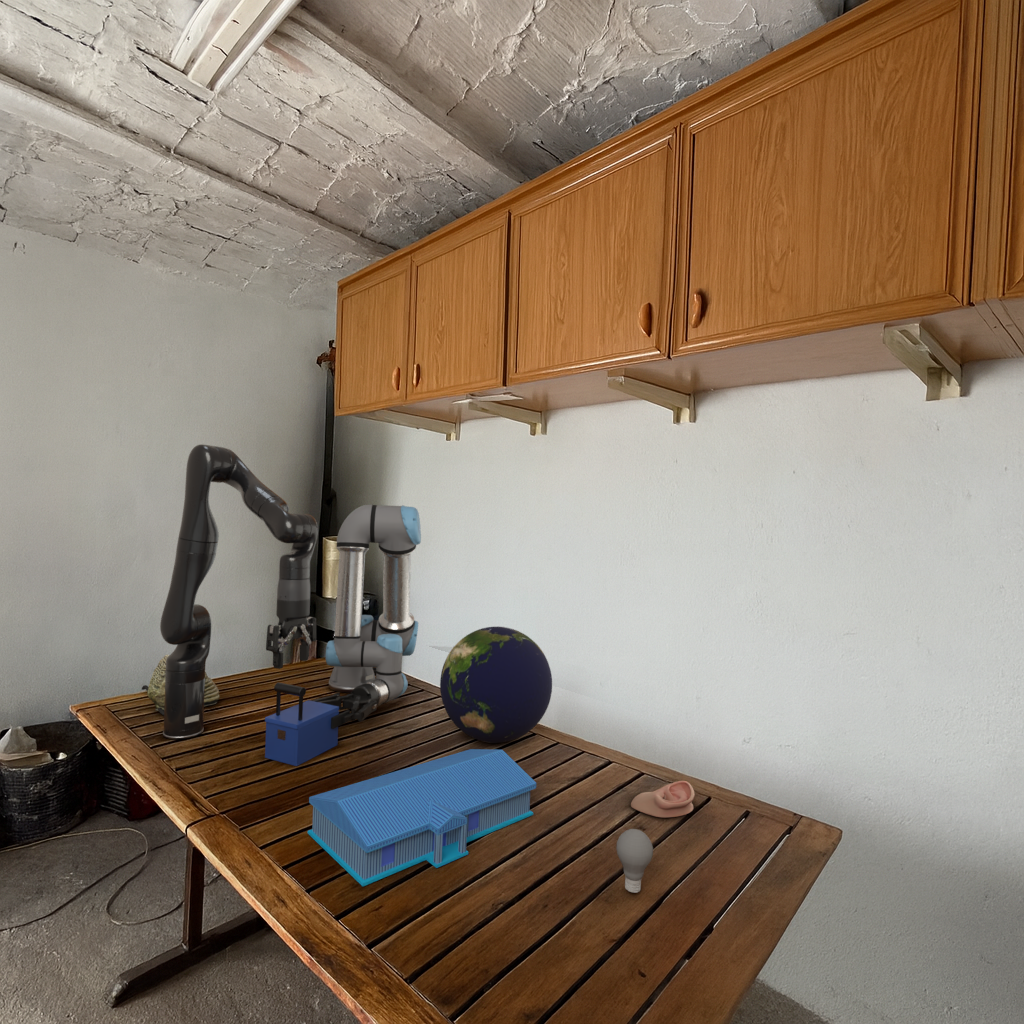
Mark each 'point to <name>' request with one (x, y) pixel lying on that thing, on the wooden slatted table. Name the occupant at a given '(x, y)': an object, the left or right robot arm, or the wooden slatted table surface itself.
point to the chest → (300, 741)
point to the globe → (496, 684)
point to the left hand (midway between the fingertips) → (291, 664)
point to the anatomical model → (666, 800)
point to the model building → (420, 812)
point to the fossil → (158, 687)
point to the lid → (298, 708)
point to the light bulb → (634, 857)
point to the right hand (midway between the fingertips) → (315, 719)
